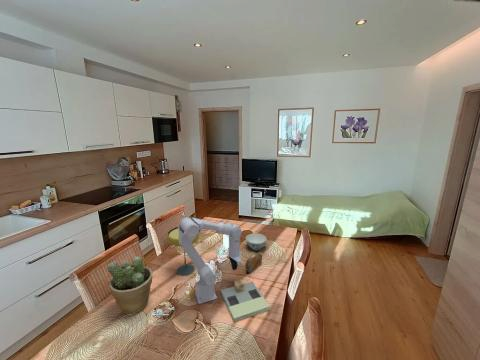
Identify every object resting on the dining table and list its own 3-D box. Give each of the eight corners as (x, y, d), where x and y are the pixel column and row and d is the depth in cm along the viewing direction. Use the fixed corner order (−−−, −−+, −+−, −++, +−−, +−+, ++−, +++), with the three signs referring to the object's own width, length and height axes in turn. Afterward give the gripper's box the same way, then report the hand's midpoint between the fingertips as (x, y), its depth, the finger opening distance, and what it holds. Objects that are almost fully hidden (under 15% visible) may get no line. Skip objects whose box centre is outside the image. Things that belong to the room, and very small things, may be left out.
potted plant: (143, 287, 119) (139, 245, 113) (162, 303, 107) (158, 257, 102) (106, 307, 105) (99, 260, 99) (124, 329, 93) (116, 277, 88)
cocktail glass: (164, 270, 133) (161, 232, 128) (190, 258, 146) (188, 223, 140) (180, 284, 121) (177, 242, 115) (206, 270, 133) (205, 232, 128)
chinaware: (267, 253, 151) (267, 243, 149) (245, 253, 151) (245, 243, 149) (265, 242, 165) (265, 233, 164) (245, 242, 166) (245, 233, 164)
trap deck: (234, 322, 97) (234, 318, 96) (221, 293, 114) (221, 290, 113) (269, 309, 103) (269, 306, 103) (252, 284, 121) (252, 281, 120)
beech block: (237, 292, 112) (237, 286, 111) (234, 287, 115) (234, 281, 114) (244, 290, 113) (244, 284, 112) (241, 285, 117) (241, 279, 116)
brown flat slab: (248, 275, 128) (248, 262, 126) (244, 273, 130) (244, 260, 128) (262, 263, 140) (262, 251, 138) (258, 261, 142) (258, 250, 140)
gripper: (246, 251, 111) (246, 275, 114) (236, 238, 124) (236, 260, 127) (233, 254, 108) (233, 278, 111) (224, 241, 121) (224, 263, 124)
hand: (234, 269), depth 119 cm, fingers closed
